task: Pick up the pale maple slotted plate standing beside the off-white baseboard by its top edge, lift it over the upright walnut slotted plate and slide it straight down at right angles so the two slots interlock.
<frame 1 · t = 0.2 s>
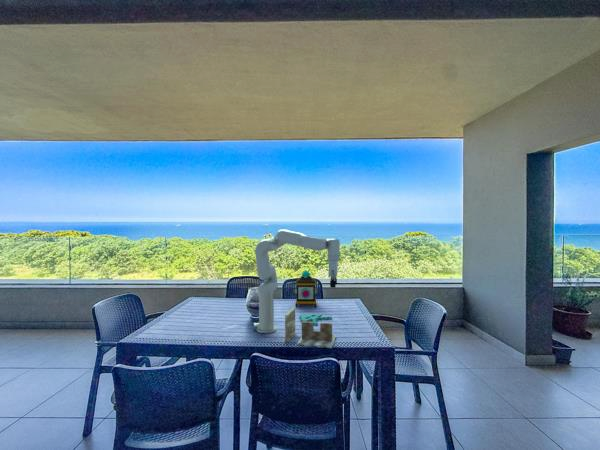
hand: (333, 285, 201), 31 cm above the table, tool pointing down, fingers open, 9 cm apart
cross base: (317, 341, 192), on the table
decorative lantern: (306, 305, 277), on the table
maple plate: (290, 337, 198), on the table
alien figure: (312, 320, 235), on the table
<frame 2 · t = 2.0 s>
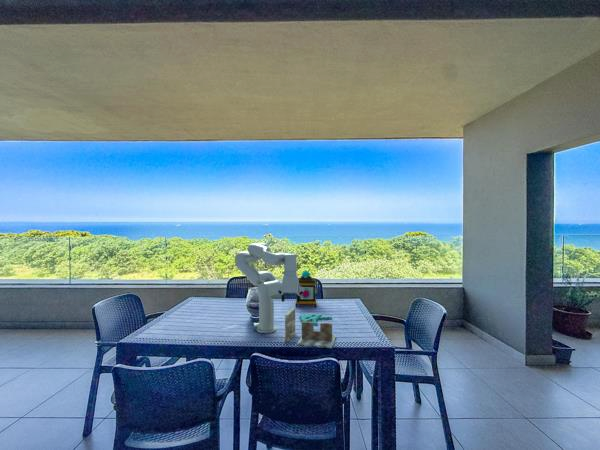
hand: (290, 301, 198), 22 cm above the table, tool pointing down, fingers open, 9 cm apart
nothing on the table moved.
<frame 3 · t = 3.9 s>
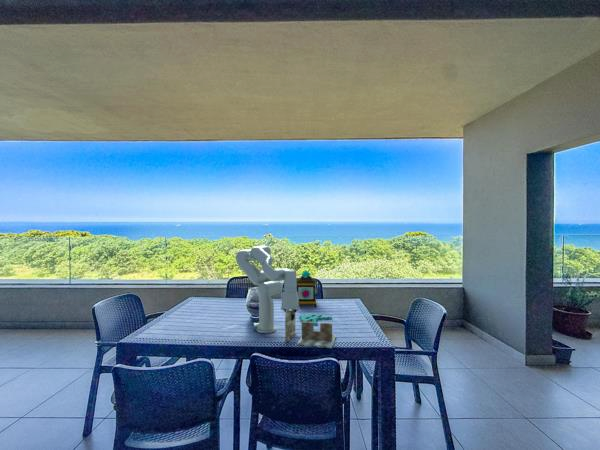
hand: (290, 319, 198), 11 cm above the table, tool pointing down, fingers closed on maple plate, 2 cm apart
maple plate: (290, 336, 198), on the table, touching gripper
everything else where it was.
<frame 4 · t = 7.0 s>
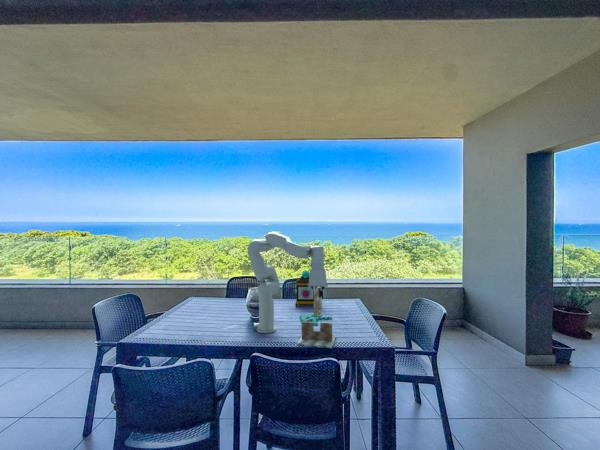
hand: (318, 296, 194), 26 cm above the table, tool pointing down, fingers closed on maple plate
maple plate: (317, 314, 193), point 15 cm above the table, tilted 5°, touching gripper
everything else where it was.
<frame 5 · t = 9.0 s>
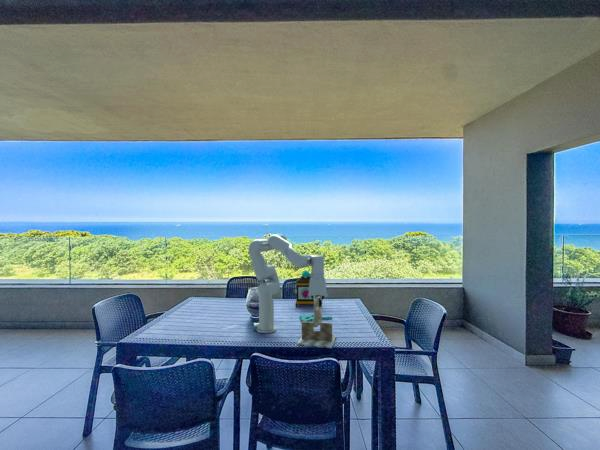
hand: (318, 306, 194), 20 cm above the table, tool pointing down, fingers closed on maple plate
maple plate: (317, 324, 193), point 9 cm above the table, tilted 8°, touching gripper
everything else where it was.
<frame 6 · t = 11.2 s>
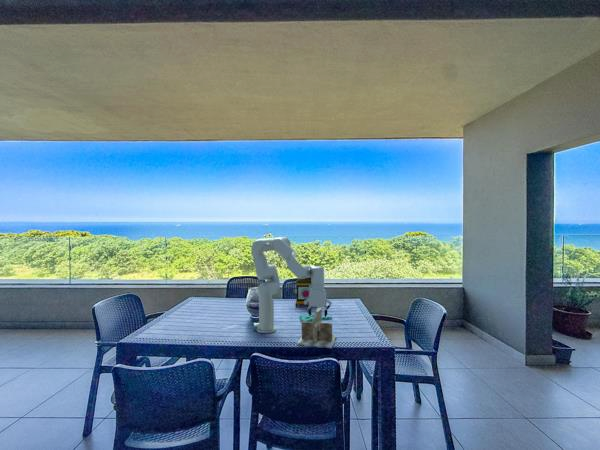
hand: (317, 315, 194), 14 cm above the table, tool pointing down, fingers open, 9 cm apart
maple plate: (317, 338, 193), point 1 cm above the table, touching cross base
everything else where it was.
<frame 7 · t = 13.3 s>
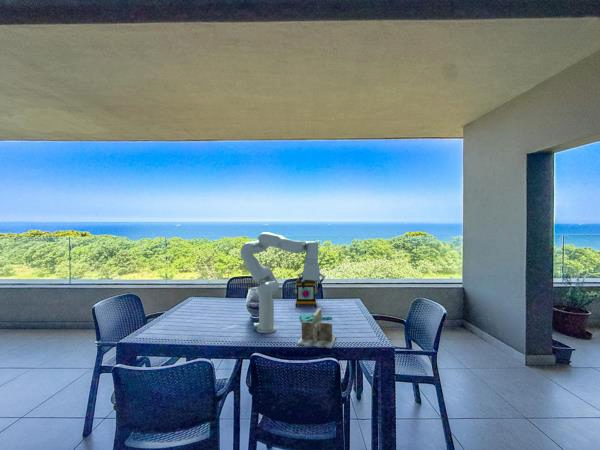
hand: (311, 288, 201), 29 cm above the table, tool pointing down, fingers open, 9 cm apart
nothing on the table moved.
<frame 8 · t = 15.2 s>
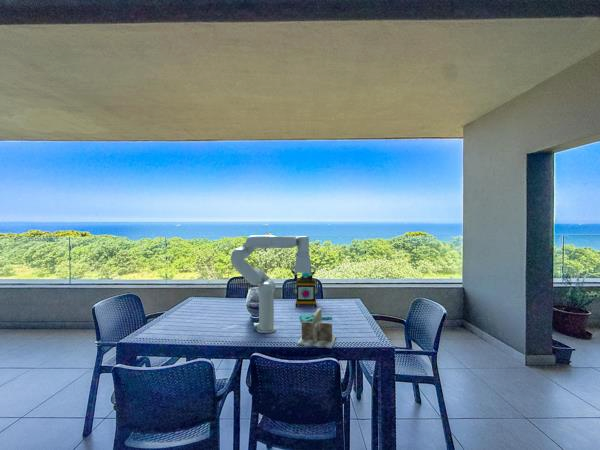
hand: (303, 281, 210), 32 cm above the table, tool pointing down, fingers open, 9 cm apart
nothing on the table moved.
at the end: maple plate 1.0 cm from the target spot on the cross base, point 1.2 cm above the cross base's base; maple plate tilted 0°; the gripper is holding nothing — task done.
